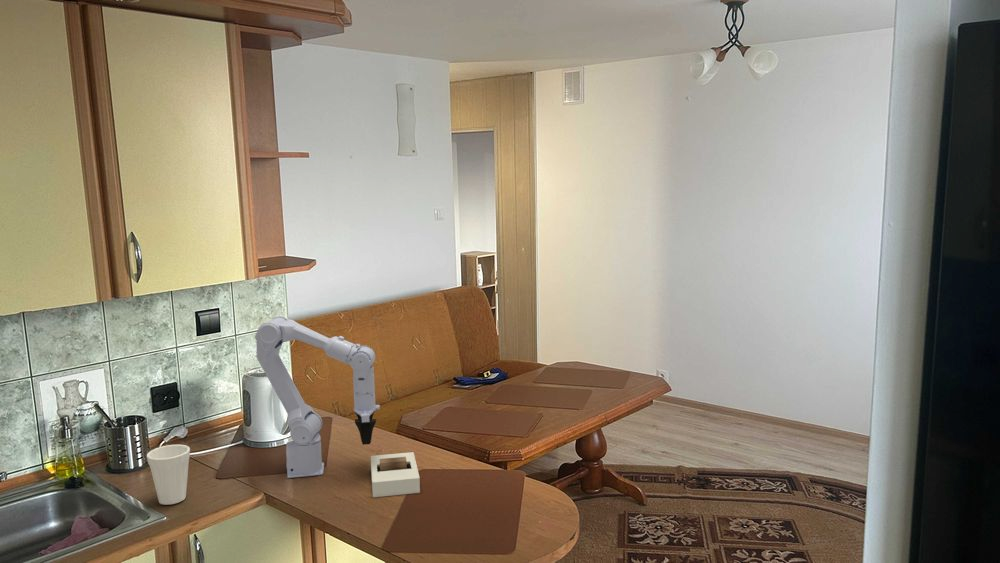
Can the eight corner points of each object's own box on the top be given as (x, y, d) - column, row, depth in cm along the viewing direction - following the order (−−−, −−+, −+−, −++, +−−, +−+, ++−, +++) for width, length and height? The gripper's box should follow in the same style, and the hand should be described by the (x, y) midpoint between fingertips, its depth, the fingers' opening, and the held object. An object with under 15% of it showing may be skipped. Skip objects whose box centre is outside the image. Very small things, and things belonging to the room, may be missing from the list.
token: (380, 484, 187) (379, 463, 186) (380, 480, 190) (379, 458, 189) (407, 482, 188) (406, 460, 187) (406, 477, 191) (405, 456, 190)
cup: (167, 512, 172) (163, 462, 170) (141, 504, 177) (137, 454, 175) (202, 496, 181) (198, 448, 179) (177, 489, 185) (173, 441, 184)
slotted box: (372, 497, 179) (372, 482, 178) (371, 469, 197) (370, 455, 196) (420, 492, 181) (419, 477, 181) (414, 465, 199) (413, 452, 198)
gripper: (380, 398, 186) (381, 447, 188) (378, 383, 200) (379, 428, 202) (352, 400, 184) (355, 449, 186) (352, 384, 199) (354, 430, 200)
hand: (366, 438), depth 194 cm, fingers open, 7 cm apart
